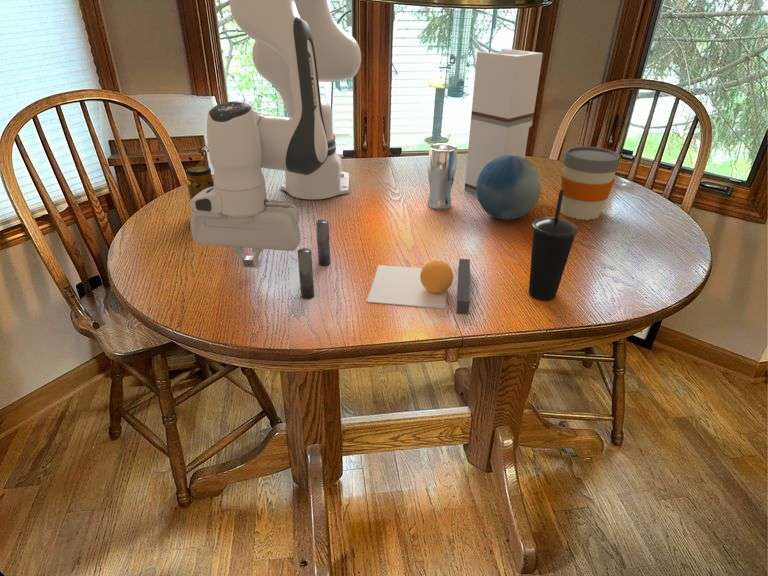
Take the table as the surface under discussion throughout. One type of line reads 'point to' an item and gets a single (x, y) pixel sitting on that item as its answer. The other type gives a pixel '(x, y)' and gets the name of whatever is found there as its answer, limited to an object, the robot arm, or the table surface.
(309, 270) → the post
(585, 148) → the reusable coffee cup
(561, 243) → the drinking cup
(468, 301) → the wall
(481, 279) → the table surface
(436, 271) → the ball
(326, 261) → the post
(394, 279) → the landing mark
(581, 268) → the table surface
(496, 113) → the tall brown-banded box
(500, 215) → the decorative ball
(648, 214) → the table surface
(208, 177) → the condiment
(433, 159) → the silver metal cylinder
